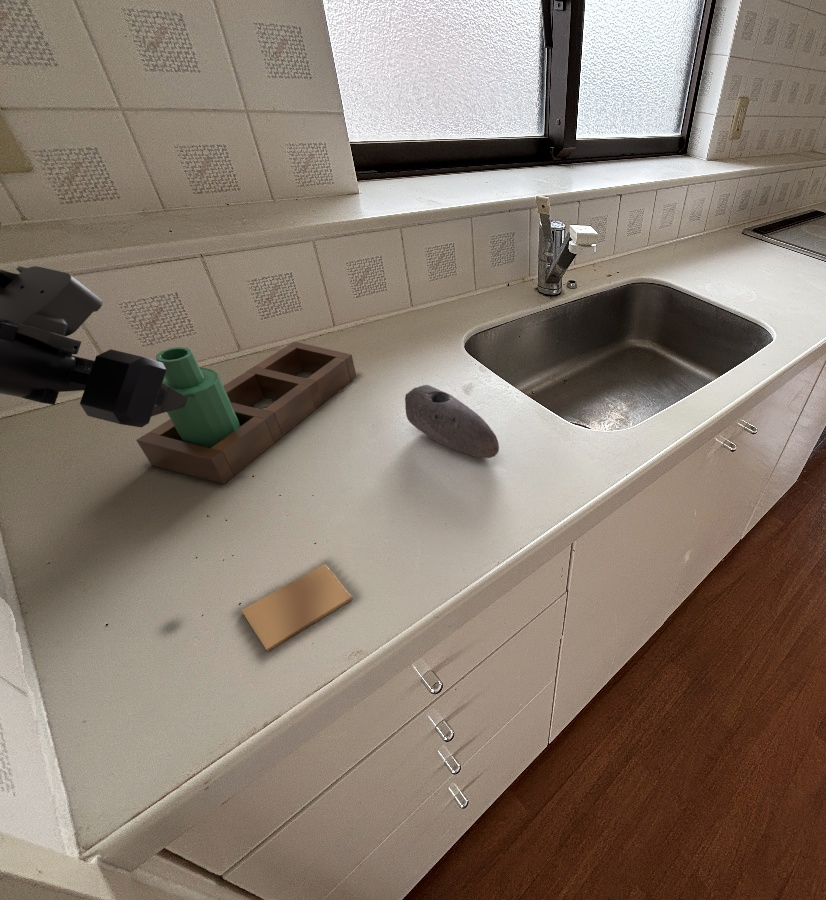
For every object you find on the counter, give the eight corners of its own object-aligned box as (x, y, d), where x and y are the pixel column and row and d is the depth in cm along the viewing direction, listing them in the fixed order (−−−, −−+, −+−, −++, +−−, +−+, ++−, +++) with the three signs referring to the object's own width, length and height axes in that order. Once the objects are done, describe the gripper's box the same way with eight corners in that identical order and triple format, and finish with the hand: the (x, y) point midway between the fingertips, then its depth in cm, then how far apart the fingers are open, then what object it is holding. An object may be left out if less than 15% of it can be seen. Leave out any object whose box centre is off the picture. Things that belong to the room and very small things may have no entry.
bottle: (192, 470, 61) (137, 372, 52) (192, 442, 64) (141, 346, 56) (249, 458, 64) (207, 362, 55) (246, 431, 67) (206, 337, 58)
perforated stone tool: (509, 456, 69) (509, 416, 65) (484, 476, 66) (482, 435, 61) (432, 415, 75) (427, 375, 70) (404, 431, 71) (397, 390, 67)
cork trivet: (267, 651, 45) (266, 649, 45) (242, 612, 48) (240, 610, 47) (352, 599, 50) (351, 596, 50) (325, 565, 53) (325, 563, 52)
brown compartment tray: (224, 484, 60) (211, 459, 57) (151, 465, 61) (135, 440, 58) (356, 376, 80) (351, 354, 78) (300, 363, 81) (294, 341, 79)
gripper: (86, 271, 38) (247, 339, 53) (-116, 226, 39) (97, 304, 55) (37, 411, 37) (215, 439, 52) (-168, 359, 38) (63, 401, 54)
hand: (147, 392), depth 53 cm, fingers open, 9 cm apart
